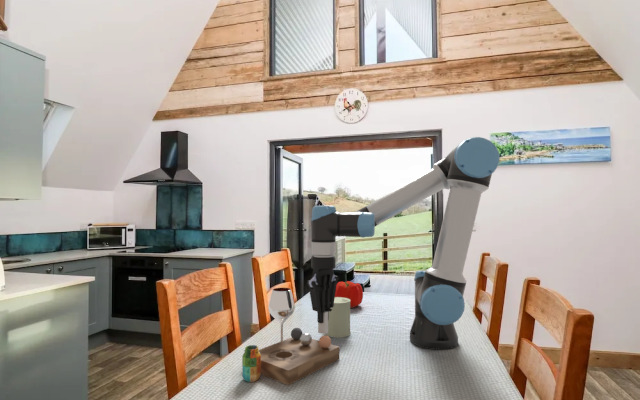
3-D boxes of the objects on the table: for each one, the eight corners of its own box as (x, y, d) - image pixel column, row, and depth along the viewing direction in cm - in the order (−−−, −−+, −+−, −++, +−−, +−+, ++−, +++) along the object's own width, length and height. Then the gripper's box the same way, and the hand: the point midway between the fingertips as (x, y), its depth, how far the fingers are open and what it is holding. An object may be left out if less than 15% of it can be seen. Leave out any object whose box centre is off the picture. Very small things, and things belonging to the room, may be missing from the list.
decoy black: (304, 339, 114) (304, 327, 114) (297, 342, 112) (297, 330, 112) (296, 336, 117) (296, 325, 117) (288, 339, 114) (288, 328, 114)
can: (348, 338, 126) (348, 302, 126) (321, 336, 128) (322, 301, 128) (352, 329, 135) (352, 296, 135) (326, 328, 137) (326, 295, 137)
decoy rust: (333, 347, 107) (333, 335, 107) (326, 351, 105) (326, 338, 105) (324, 344, 110) (324, 332, 110) (316, 348, 107) (316, 335, 107)
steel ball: (314, 345, 109) (314, 333, 109) (306, 348, 107) (306, 336, 107) (305, 342, 112) (305, 330, 112) (297, 345, 109) (297, 333, 109)
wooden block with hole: (339, 359, 108) (339, 346, 108) (288, 385, 92) (288, 370, 92) (298, 346, 118) (298, 334, 118) (245, 368, 102) (246, 354, 102)
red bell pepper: (329, 303, 173) (329, 280, 174) (356, 301, 177) (356, 279, 178) (339, 311, 160) (339, 286, 161) (368, 308, 164) (368, 284, 165)
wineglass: (270, 353, 112) (270, 292, 113) (266, 344, 120) (267, 287, 121) (297, 350, 115) (297, 291, 115) (291, 341, 123) (292, 286, 123)
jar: (261, 375, 98) (261, 344, 98) (259, 383, 93) (259, 350, 93) (243, 375, 98) (244, 344, 98) (240, 383, 93) (240, 350, 93)
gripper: (327, 252, 124) (326, 325, 123) (300, 256, 113) (299, 335, 113) (345, 254, 119) (345, 330, 118) (319, 258, 109) (318, 341, 108)
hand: (323, 332), depth 115 cm, fingers closed
